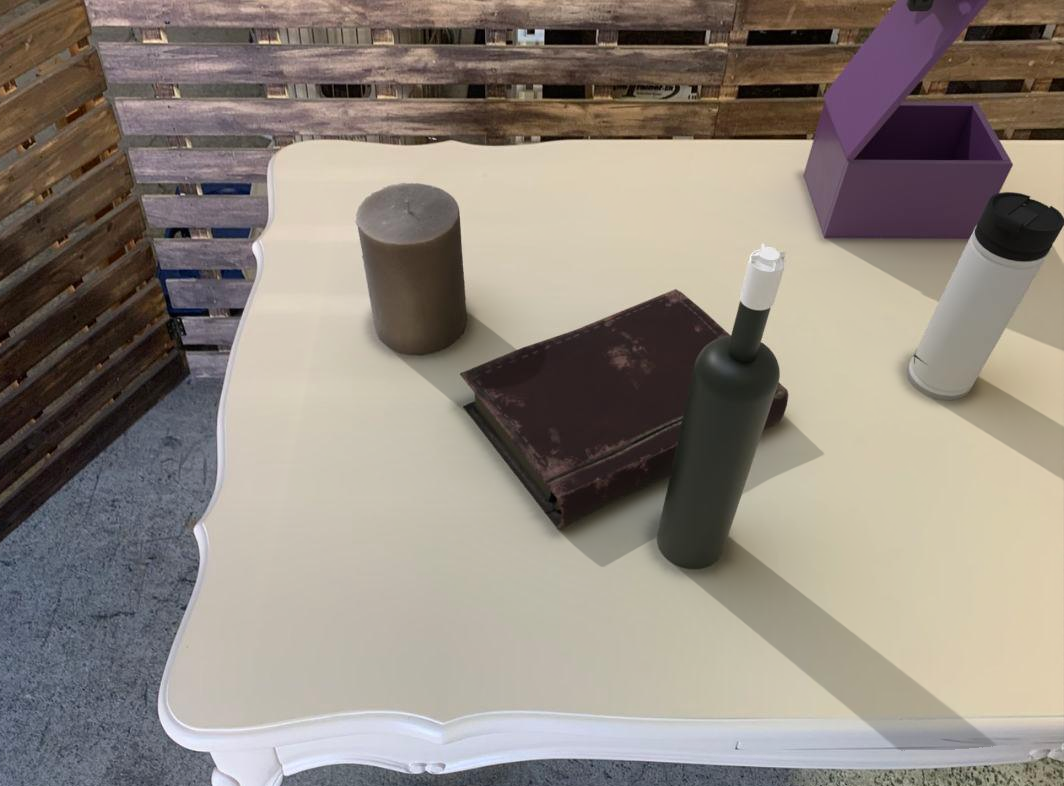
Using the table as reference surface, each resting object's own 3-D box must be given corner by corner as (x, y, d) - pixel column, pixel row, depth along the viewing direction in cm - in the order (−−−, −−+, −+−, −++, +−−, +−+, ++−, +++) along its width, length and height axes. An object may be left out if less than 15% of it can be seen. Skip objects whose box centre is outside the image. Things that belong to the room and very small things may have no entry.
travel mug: (890, 382, 90) (974, 205, 73) (925, 351, 92) (1013, 173, 76) (946, 415, 87) (1046, 239, 71) (980, 382, 90) (1083, 205, 74)
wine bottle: (732, 565, 77) (834, 277, 52) (668, 578, 76) (741, 291, 51) (709, 513, 80) (794, 218, 55) (647, 525, 79) (707, 231, 55)
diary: (781, 430, 86) (794, 392, 82) (561, 538, 78) (563, 502, 74) (665, 318, 95) (672, 279, 91) (458, 405, 87) (455, 367, 83)
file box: (944, 180, 111) (977, 102, 103) (975, 243, 103) (1013, 164, 95) (802, 179, 110) (824, 101, 102) (822, 242, 103) (848, 163, 95)
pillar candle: (482, 341, 93) (477, 213, 81) (394, 370, 90) (376, 243, 78) (444, 286, 98) (434, 158, 86) (359, 313, 95) (337, 185, 83)
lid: (956, -66, 89) (919, -91, 87) (996, -8, 82) (956, -35, 80) (828, 98, 102) (793, 79, 100) (852, 161, 95) (815, 141, 93)
